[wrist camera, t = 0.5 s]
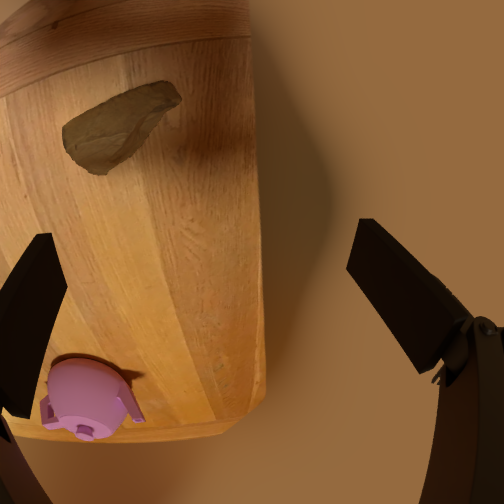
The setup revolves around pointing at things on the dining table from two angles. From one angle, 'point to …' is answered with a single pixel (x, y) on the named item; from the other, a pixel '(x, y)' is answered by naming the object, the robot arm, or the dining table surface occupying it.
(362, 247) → the robot arm
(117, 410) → the teapot
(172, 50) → the dining table surface
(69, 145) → the rock
